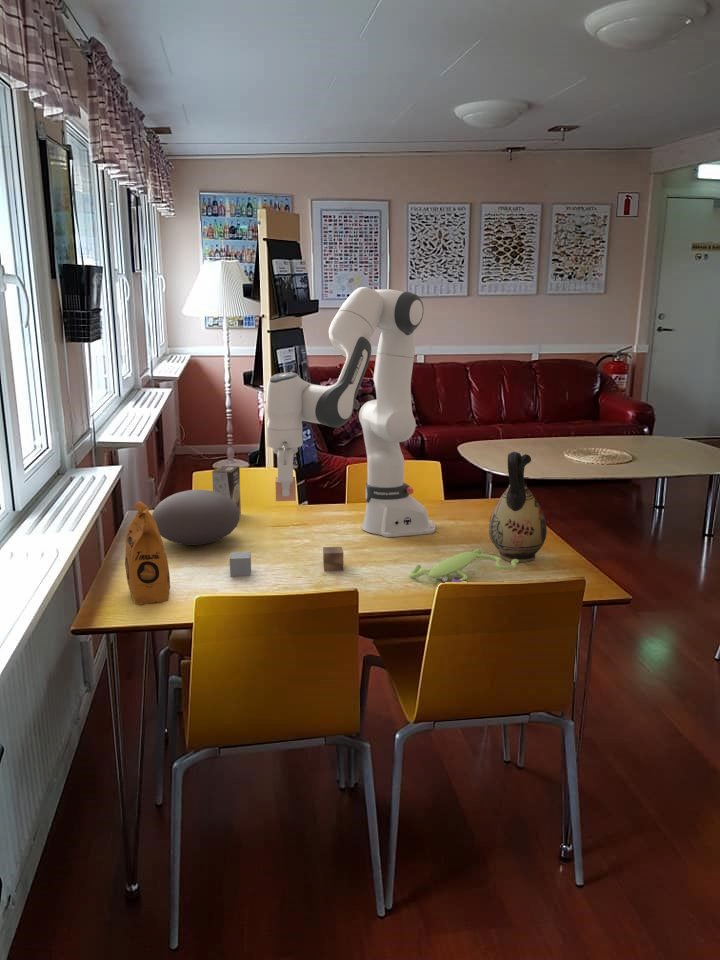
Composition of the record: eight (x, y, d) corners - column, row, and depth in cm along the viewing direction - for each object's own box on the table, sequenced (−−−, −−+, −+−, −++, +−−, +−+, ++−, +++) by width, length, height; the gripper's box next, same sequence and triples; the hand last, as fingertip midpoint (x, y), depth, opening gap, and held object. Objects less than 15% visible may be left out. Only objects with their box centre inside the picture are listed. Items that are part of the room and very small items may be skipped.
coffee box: (233, 521, 240) (231, 472, 236) (213, 521, 241) (211, 471, 237) (241, 513, 249) (239, 465, 245) (222, 512, 250) (220, 465, 246)
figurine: (527, 579, 193) (528, 559, 192) (444, 599, 181) (445, 577, 179) (481, 558, 209) (482, 539, 207) (402, 575, 196) (403, 555, 194)
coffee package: (127, 607, 174) (121, 515, 169) (127, 588, 186) (120, 501, 181) (172, 602, 177) (166, 512, 172) (168, 583, 189) (163, 498, 183)
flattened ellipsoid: (241, 553, 211) (239, 501, 207) (148, 557, 207) (145, 505, 203) (240, 527, 235) (238, 480, 231) (157, 530, 231) (154, 483, 227)
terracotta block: (295, 495, 196) (295, 476, 195) (295, 500, 191) (295, 481, 190) (276, 496, 196) (275, 477, 194) (275, 501, 191) (275, 481, 190)
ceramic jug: (497, 545, 219) (502, 442, 211) (550, 553, 212) (557, 448, 205) (477, 563, 204) (482, 453, 197) (534, 572, 197) (541, 459, 190)
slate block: (251, 569, 199) (250, 551, 198) (250, 576, 194) (249, 558, 193) (231, 570, 198) (231, 552, 197) (230, 577, 193) (229, 558, 192)
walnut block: (342, 564, 203) (341, 546, 202) (343, 571, 198) (343, 552, 197) (323, 564, 202) (323, 547, 201) (324, 571, 198) (324, 553, 196)
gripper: (298, 446, 180) (299, 502, 183) (296, 431, 200) (297, 482, 203) (271, 447, 179) (272, 503, 183) (272, 431, 199) (274, 482, 203)
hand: (285, 492), depth 193 cm, fingers closed on terracotta block, 5 cm apart
